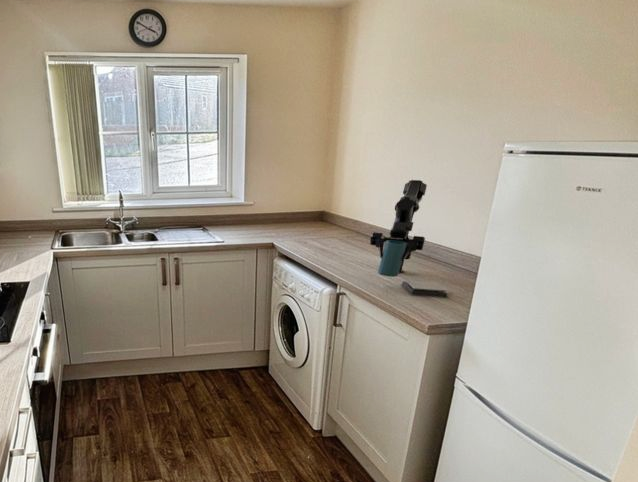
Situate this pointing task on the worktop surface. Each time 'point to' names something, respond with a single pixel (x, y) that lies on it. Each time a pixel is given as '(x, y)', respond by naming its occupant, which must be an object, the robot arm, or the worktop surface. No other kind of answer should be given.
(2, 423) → the worktop surface
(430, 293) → the scale
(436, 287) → the pan
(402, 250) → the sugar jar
